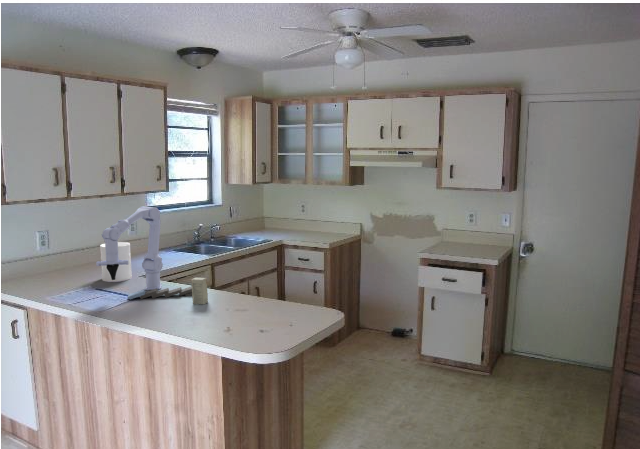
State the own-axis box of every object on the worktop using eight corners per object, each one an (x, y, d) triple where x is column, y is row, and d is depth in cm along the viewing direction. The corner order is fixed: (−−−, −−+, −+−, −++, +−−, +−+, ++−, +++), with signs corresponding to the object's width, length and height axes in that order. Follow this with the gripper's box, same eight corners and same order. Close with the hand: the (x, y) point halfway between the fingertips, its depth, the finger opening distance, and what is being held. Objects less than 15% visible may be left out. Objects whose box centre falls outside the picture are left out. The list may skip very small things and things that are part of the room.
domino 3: (152, 292, 254) (168, 287, 255) (153, 295, 254) (169, 290, 255) (151, 295, 249) (167, 290, 250) (152, 298, 249) (168, 293, 251)
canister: (136, 275, 296) (135, 242, 293) (123, 282, 280) (121, 247, 277) (111, 274, 298) (109, 241, 295) (96, 281, 282) (94, 246, 279)
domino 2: (141, 293, 252) (156, 288, 254) (142, 296, 253) (157, 291, 254) (139, 296, 248) (155, 290, 249) (140, 299, 248) (156, 293, 249)
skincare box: (208, 302, 243) (207, 277, 241) (203, 304, 239) (203, 280, 237) (196, 301, 244) (195, 276, 243) (191, 303, 240) (191, 279, 239)
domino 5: (178, 290, 257) (193, 285, 259) (179, 293, 257) (194, 288, 259) (179, 293, 252) (194, 287, 254) (180, 295, 253) (195, 290, 255)
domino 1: (128, 294, 251) (144, 289, 252) (129, 297, 251) (145, 291, 253) (127, 297, 246) (143, 291, 247) (128, 300, 246) (144, 294, 248)
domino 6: (185, 291, 258) (201, 290, 260) (185, 294, 258) (201, 293, 260) (185, 294, 253) (201, 293, 255) (185, 297, 253) (201, 296, 255)
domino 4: (165, 291, 255) (180, 287, 256) (166, 294, 255) (181, 290, 256) (164, 294, 250) (180, 289, 251) (165, 297, 250) (181, 292, 252)
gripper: (94, 254, 238) (96, 282, 240) (126, 253, 242) (128, 280, 243) (97, 251, 245) (98, 278, 247) (128, 250, 248) (129, 277, 250)
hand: (113, 279), depth 245 cm, fingers closed
